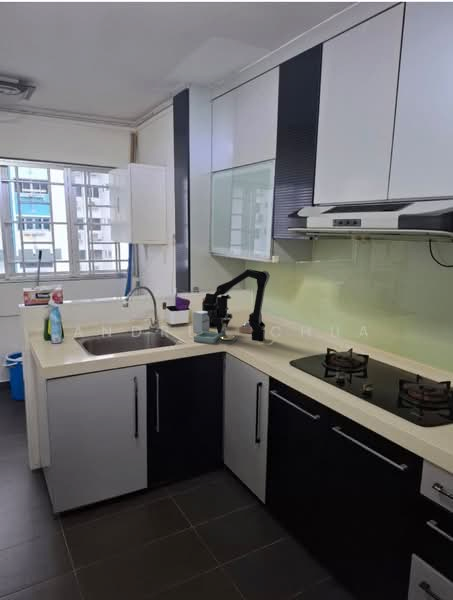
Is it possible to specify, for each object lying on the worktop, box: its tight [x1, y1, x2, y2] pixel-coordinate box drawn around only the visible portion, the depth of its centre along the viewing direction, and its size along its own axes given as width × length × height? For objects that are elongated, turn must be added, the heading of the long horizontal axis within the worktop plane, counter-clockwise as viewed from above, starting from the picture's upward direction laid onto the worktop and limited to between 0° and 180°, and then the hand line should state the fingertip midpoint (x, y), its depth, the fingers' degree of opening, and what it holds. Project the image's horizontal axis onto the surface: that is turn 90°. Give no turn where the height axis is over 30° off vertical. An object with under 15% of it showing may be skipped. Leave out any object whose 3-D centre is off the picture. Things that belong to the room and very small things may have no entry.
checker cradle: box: [216, 337, 238, 345], centre depth 224 cm, size 9×9×2 cm
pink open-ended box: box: [238, 323, 253, 335], centre depth 243 cm, size 7×7×4 cm
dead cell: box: [243, 321, 250, 328], centre depth 243 cm, size 4×4×6 cm
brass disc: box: [220, 334, 236, 340], centre depth 224 cm, size 8×8×1 cm
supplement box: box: [192, 310, 210, 334], centre depth 243 cm, size 7×7×13 cm
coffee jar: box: [201, 297, 218, 328], centre depth 260 cm, size 11×11×18 cm
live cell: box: [221, 323, 227, 335], centre depth 233 cm, size 4×4×9 cm
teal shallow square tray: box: [193, 331, 222, 345], centre depth 226 cm, size 12×12×3 cm
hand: (221, 332), depth 232 cm, fingers open, 7 cm apart
